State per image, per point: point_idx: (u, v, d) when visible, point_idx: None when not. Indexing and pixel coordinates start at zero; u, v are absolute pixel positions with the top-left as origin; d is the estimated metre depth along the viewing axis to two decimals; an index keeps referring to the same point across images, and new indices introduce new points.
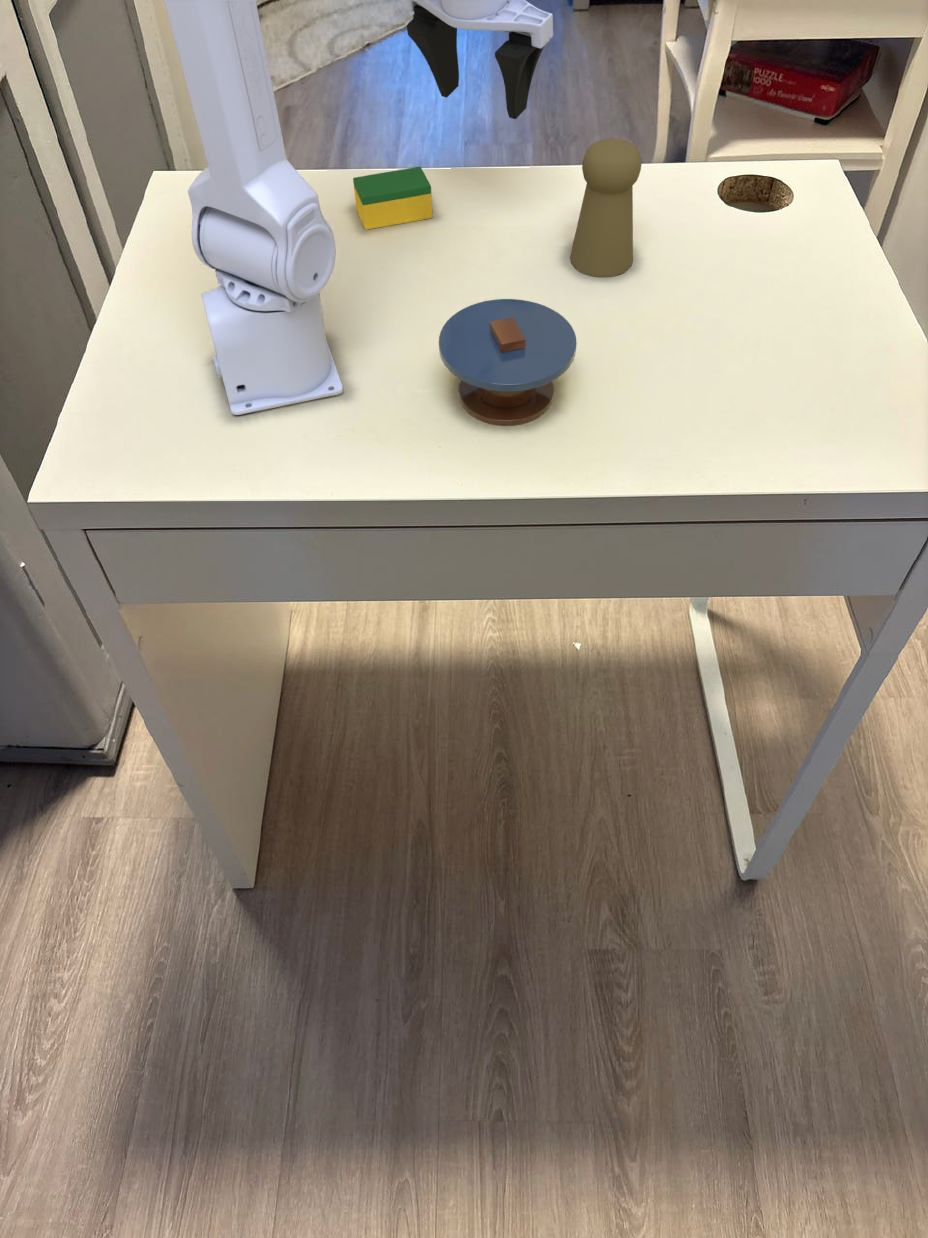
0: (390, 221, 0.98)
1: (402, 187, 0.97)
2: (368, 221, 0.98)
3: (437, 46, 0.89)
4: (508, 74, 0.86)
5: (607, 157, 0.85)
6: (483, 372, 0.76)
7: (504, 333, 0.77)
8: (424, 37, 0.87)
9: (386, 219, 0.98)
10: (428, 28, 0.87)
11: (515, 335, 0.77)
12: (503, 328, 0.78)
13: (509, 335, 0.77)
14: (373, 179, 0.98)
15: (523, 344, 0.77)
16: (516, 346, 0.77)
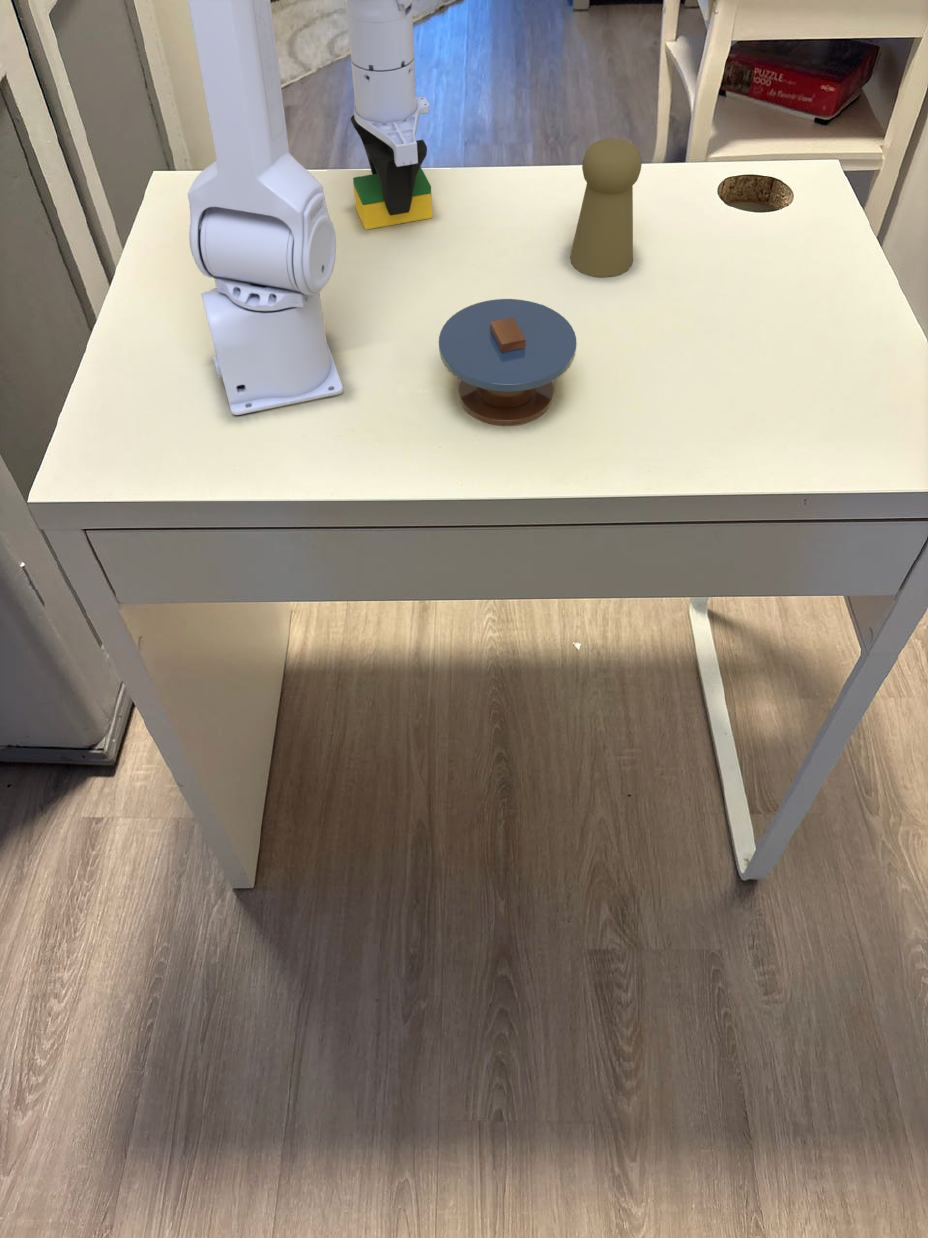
0: (390, 221, 0.98)
1: None
2: (368, 221, 0.98)
3: (372, 143, 0.96)
4: (376, 170, 0.93)
5: (607, 157, 0.85)
6: (483, 372, 0.76)
7: (504, 333, 0.77)
8: (355, 128, 0.94)
9: (386, 219, 0.98)
10: None
11: (515, 335, 0.77)
12: (503, 328, 0.78)
13: (509, 335, 0.77)
14: (373, 179, 0.98)
15: (523, 344, 0.77)
16: (516, 346, 0.77)
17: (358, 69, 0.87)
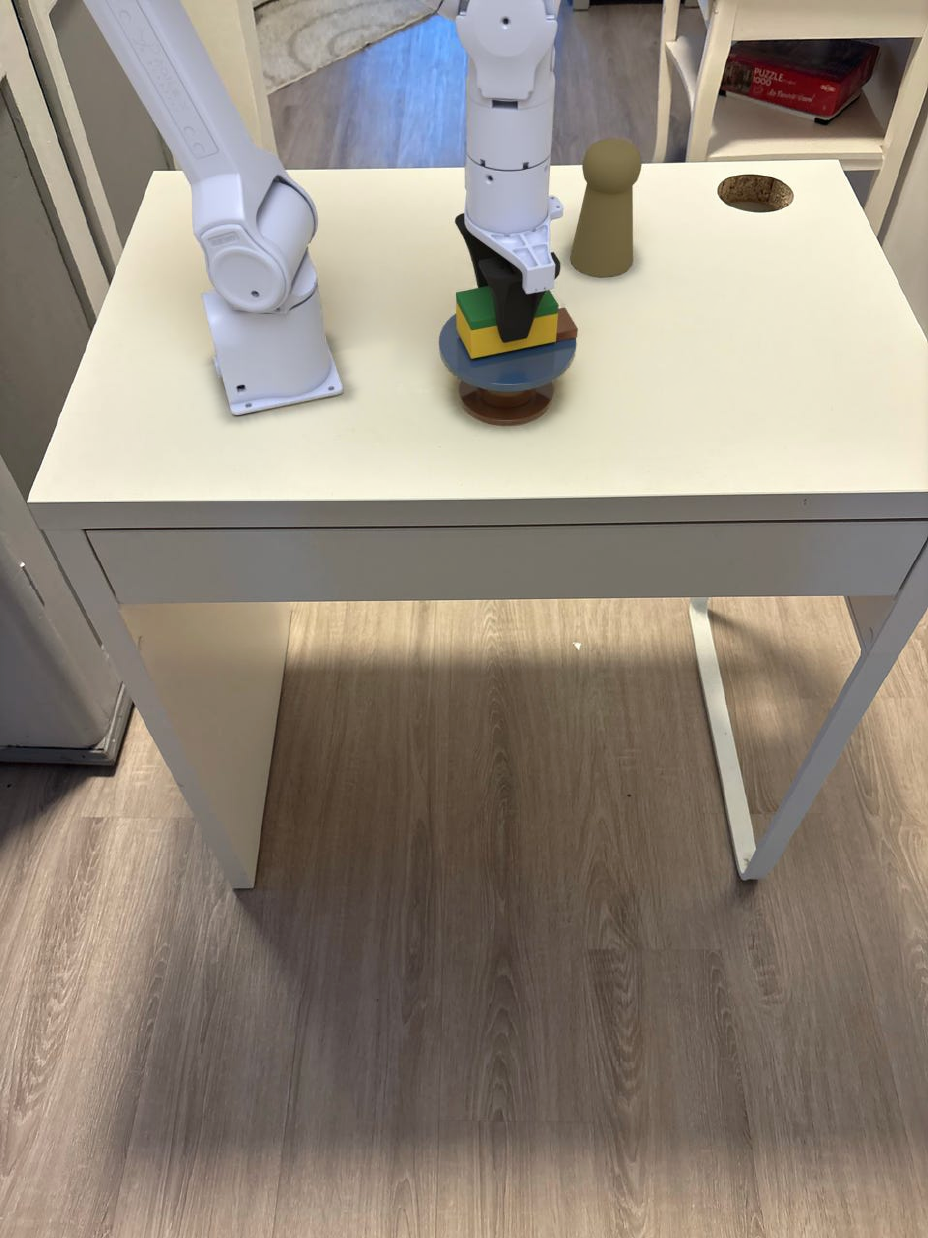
0: (503, 348, 0.76)
1: None
2: (476, 349, 0.76)
3: (481, 251, 0.74)
4: (491, 291, 0.71)
5: (607, 157, 0.85)
6: (483, 372, 0.76)
7: None
8: None
9: (498, 345, 0.76)
10: None
11: (567, 324, 0.78)
12: None
13: (561, 324, 0.78)
14: (482, 295, 0.76)
15: (575, 333, 0.78)
16: (568, 335, 0.78)
17: (478, 167, 0.65)
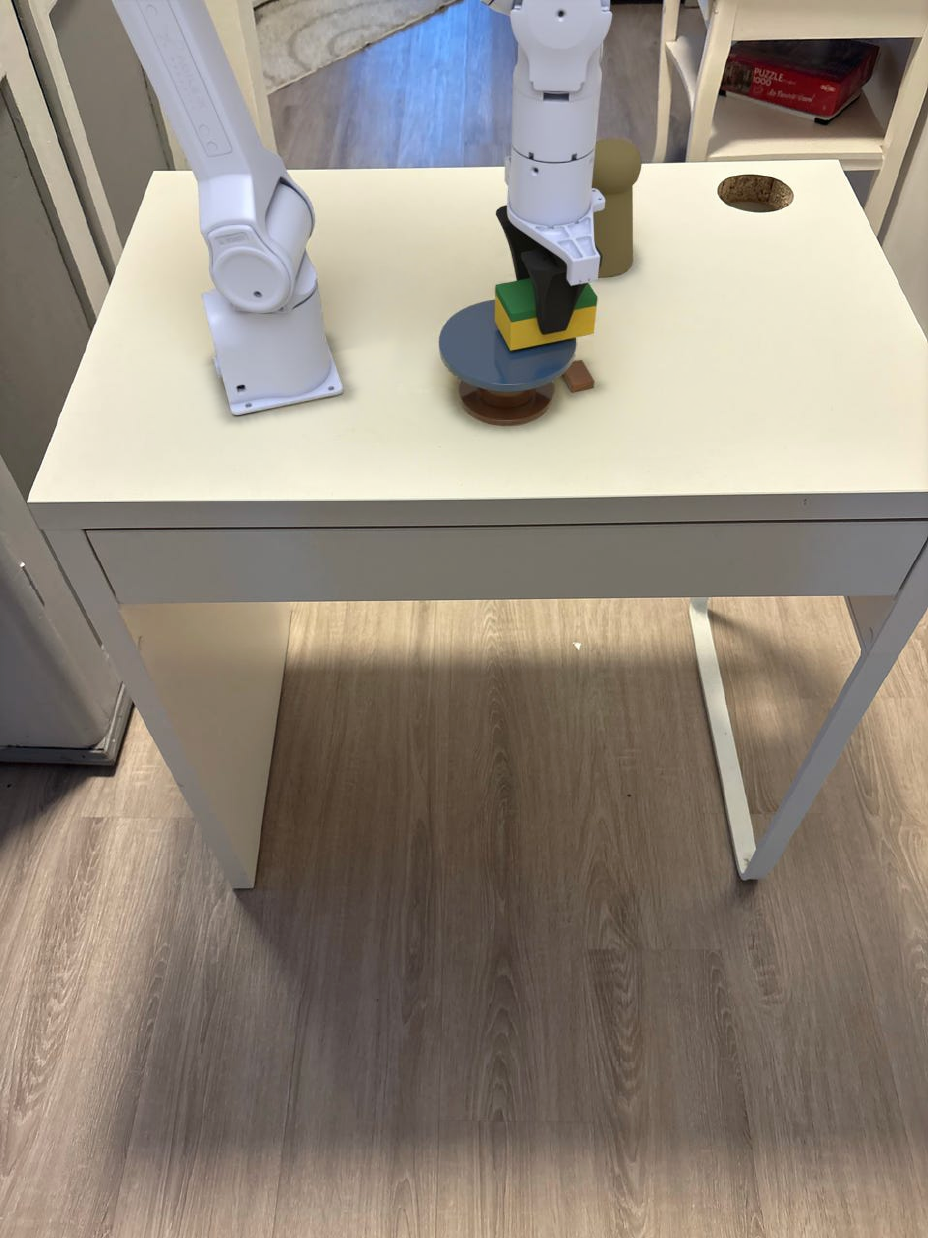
0: (542, 340, 0.77)
1: None
2: (515, 341, 0.76)
3: (521, 244, 0.75)
4: (533, 283, 0.71)
5: (607, 157, 0.85)
6: (483, 372, 0.76)
7: None
8: (503, 227, 0.73)
9: (537, 337, 0.77)
10: None
11: None
12: None
13: None
14: (522, 287, 0.76)
15: (574, 389, 0.83)
16: (580, 387, 0.83)
17: (524, 160, 0.66)
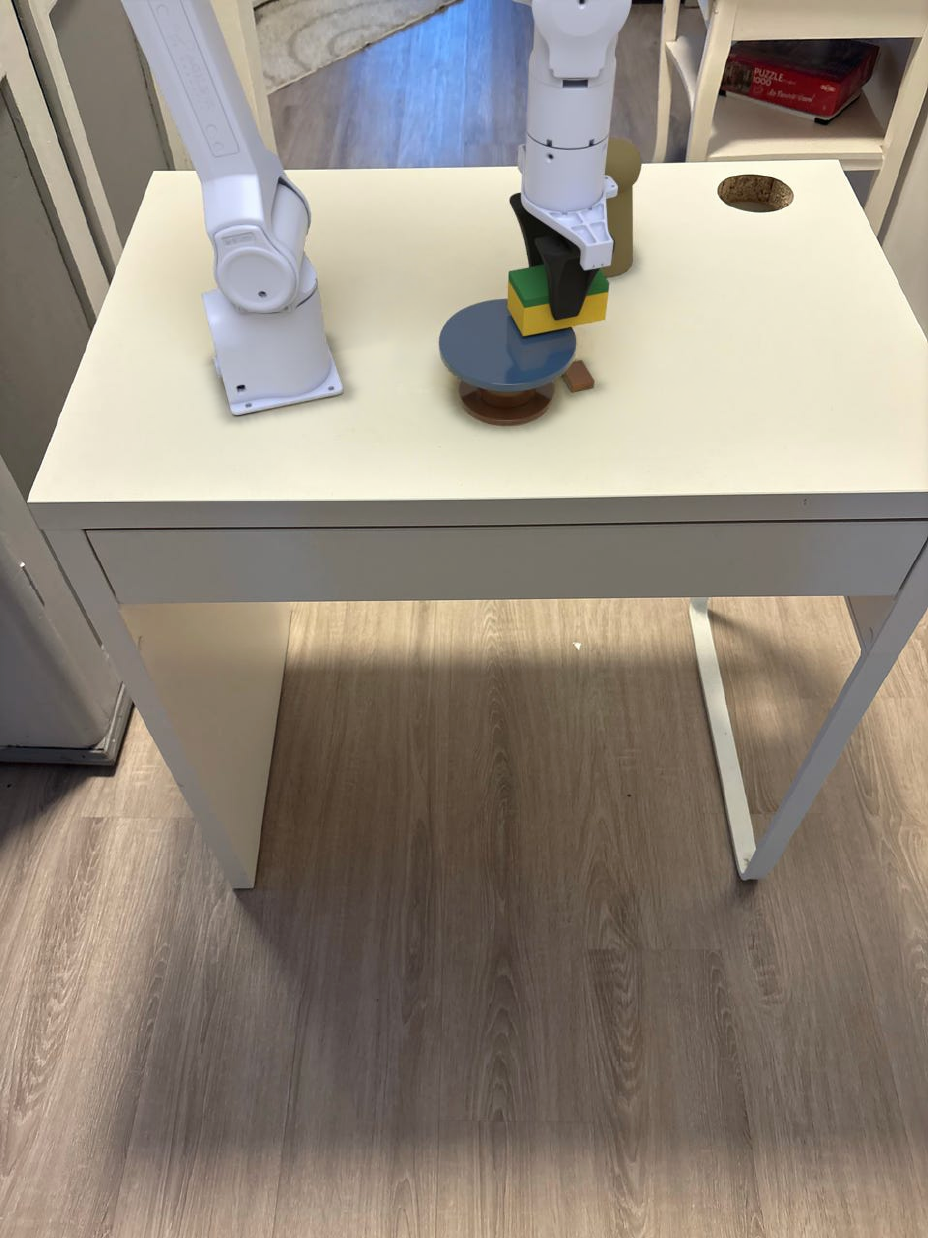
0: (554, 325, 0.78)
1: None
2: (528, 326, 0.77)
3: (535, 230, 0.76)
4: (546, 269, 0.73)
5: (607, 157, 0.85)
6: (483, 372, 0.76)
7: None
8: (516, 214, 0.74)
9: (550, 323, 0.78)
10: None
11: None
12: None
13: None
14: (534, 273, 0.77)
15: (574, 389, 0.83)
16: (580, 387, 0.83)
17: (539, 146, 0.67)
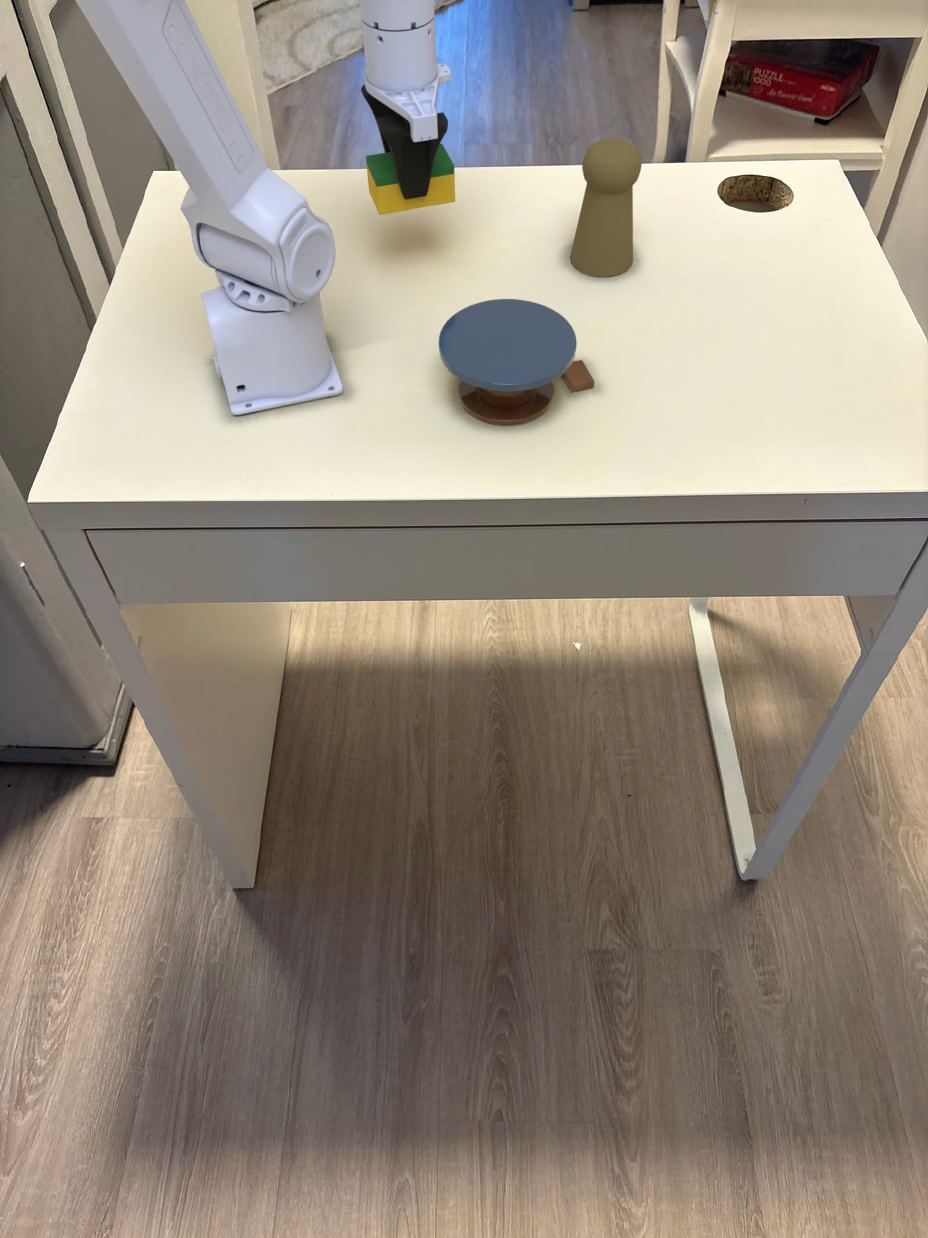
0: (407, 205, 0.87)
1: None
2: (383, 205, 0.86)
3: (385, 117, 0.84)
4: (389, 147, 0.81)
5: (607, 157, 0.85)
6: (483, 372, 0.76)
7: None
8: (366, 100, 0.83)
9: (403, 203, 0.86)
10: None
11: None
12: None
13: None
14: (388, 157, 0.86)
15: (574, 389, 0.83)
16: (580, 387, 0.83)
17: (370, 29, 0.75)
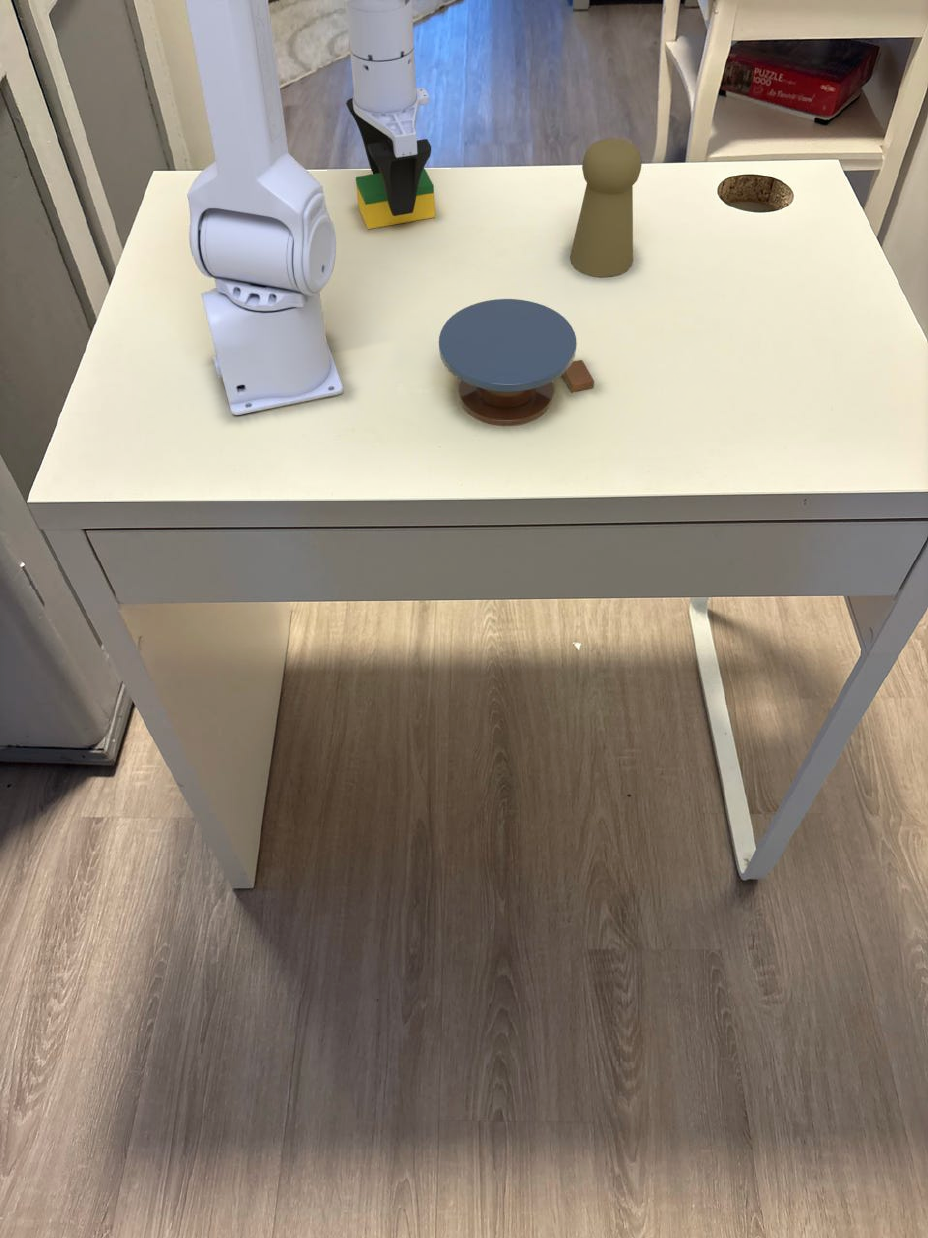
0: (393, 220, 0.98)
1: None
2: (371, 220, 0.98)
3: (367, 127, 0.96)
4: None
5: (607, 157, 0.85)
6: (483, 372, 0.76)
7: None
8: (350, 112, 0.95)
9: (389, 218, 0.98)
10: None
11: None
12: None
13: None
14: (376, 178, 0.98)
15: (574, 389, 0.83)
16: (580, 387, 0.83)
17: (357, 59, 0.86)
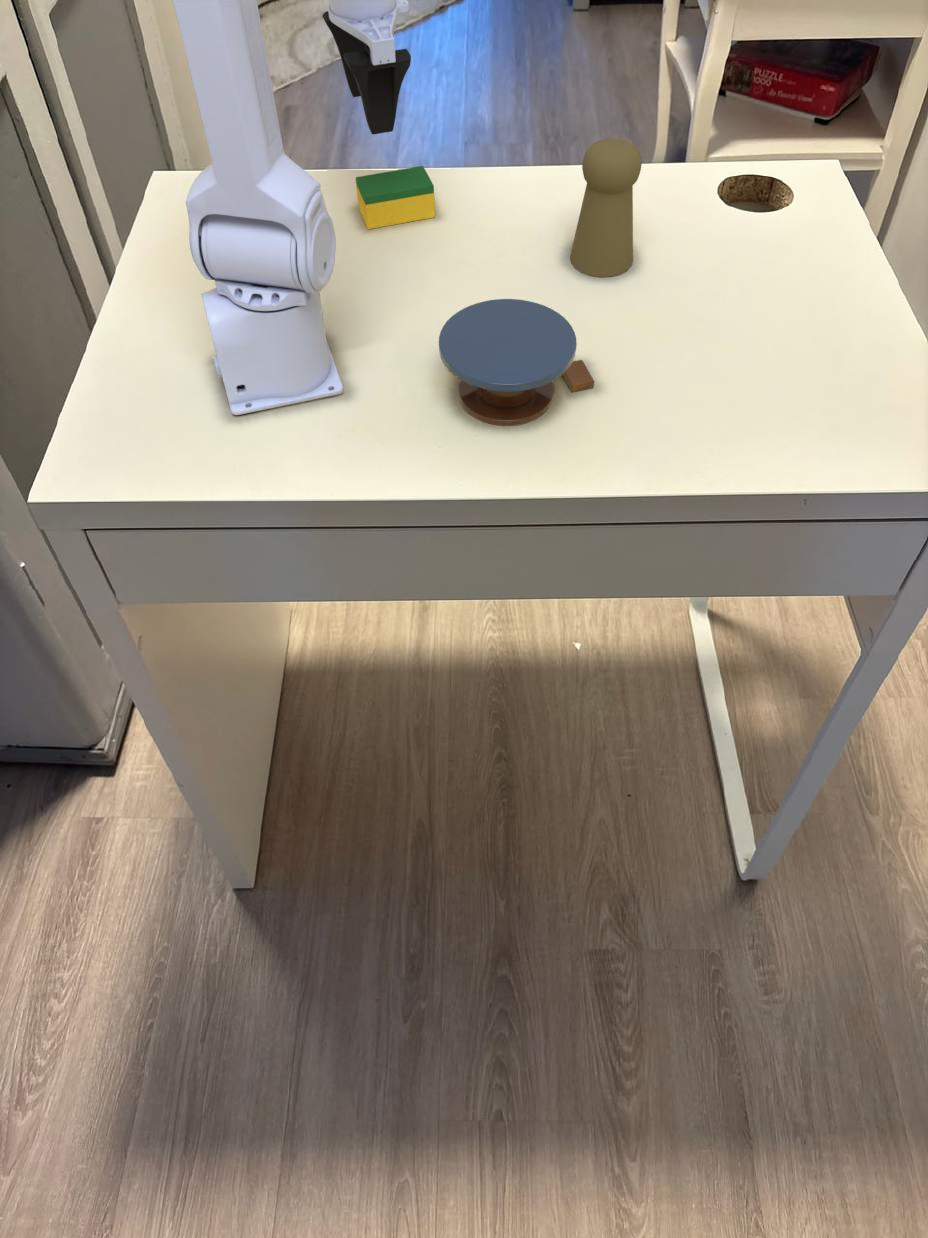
0: (393, 220, 0.98)
1: (405, 186, 0.97)
2: (371, 220, 0.98)
3: (345, 42, 0.91)
4: (356, 82, 0.87)
5: (607, 157, 0.85)
6: (483, 372, 0.76)
7: None
8: (327, 25, 0.90)
9: (389, 218, 0.98)
10: None
11: None
12: None
13: None
14: (376, 178, 0.98)
15: (573, 389, 0.83)
16: (580, 387, 0.83)
17: None
